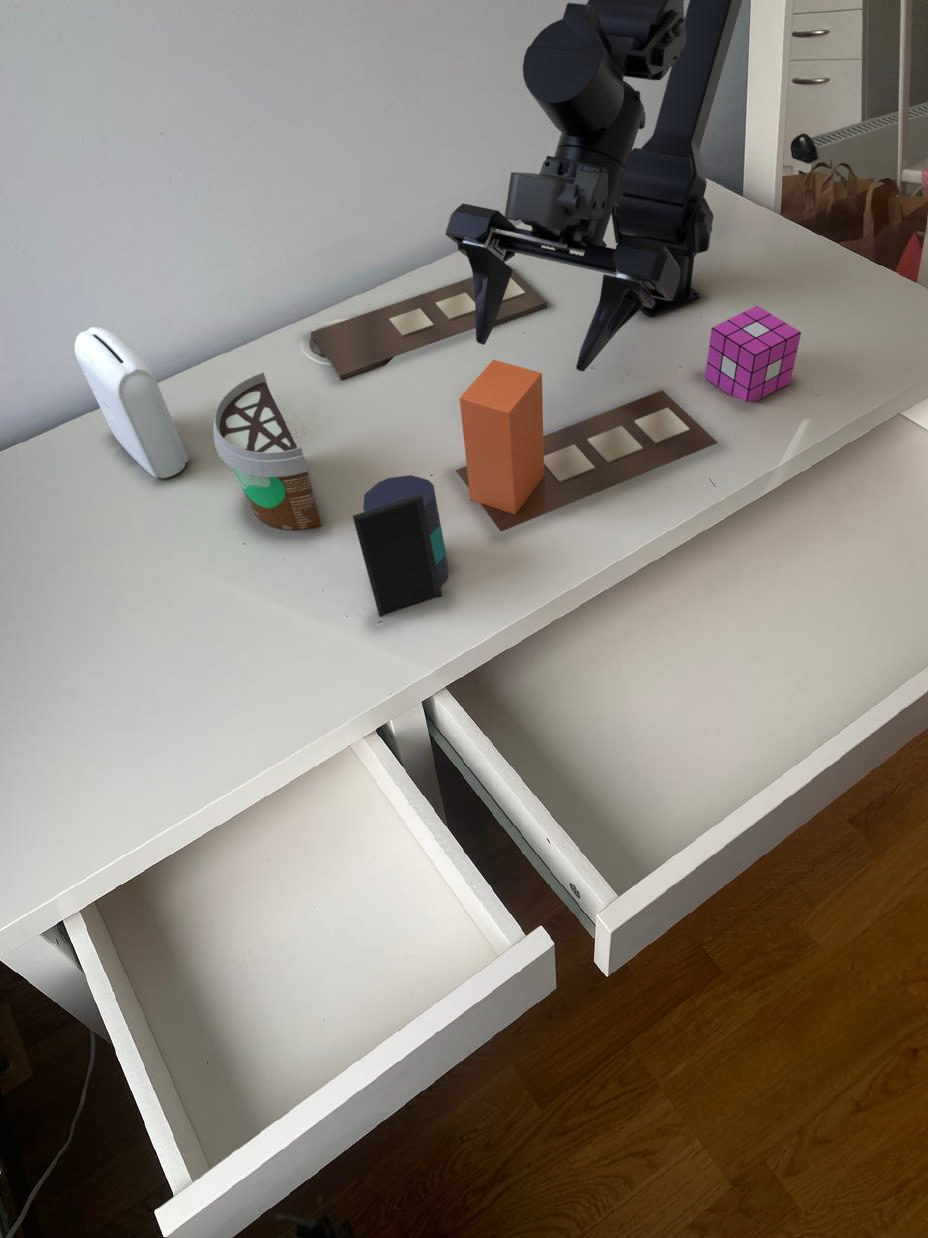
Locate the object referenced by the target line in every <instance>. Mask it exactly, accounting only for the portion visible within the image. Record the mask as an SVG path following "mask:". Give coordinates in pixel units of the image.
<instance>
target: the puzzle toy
mask: <svg viewBox="0 0 928 1238" xmlns="http://www.w3.org/2000/svg"><path fill="white" fill-rule="evenodd" d="M801 336H802V332H801V331H800V330H799V329H797V328H795V327H793V326H792V325H791V324H789V323H787V322H786V321H784V320H782V319H781V318H779V317H777V316H776V315H774V314H772V313H770V312H769V311H767V310H766V309H764V308H762V307H761V306H759V305H755V306H753V307H751V308H749V309H747V310H745V311H743V312H741V313H739V314H737V315H735V316H732V317H730V318H728V319H727V320H724V321H723V322H720V323H718V324H717V325H714V326H712V327H711V331H710V338H709V345H708V354H707V360H706V368H705V375H704V378H705V380H707V381H709V382H710V383H712V384H713V385H715V386H716V387H718V388H719V389H720V390H722V391H723V392H724V393H726V394H727V395H729V396H730V397H732V398H737V399H740V400H742V401H744V402H745V403H748V402H752V403H756V402H757V401H759V400H761V399H763V398H765V397H766V396H768V395H770V394H772V393H774V392H776V391H778V390H779V389H782V388H783V387H785V386H787V385H790V383H791V381H792V377H793V371H794V366H795V363H796V359H797V354H798V348H799V345H800V339H801Z"/></svg>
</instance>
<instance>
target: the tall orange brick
mask: <svg viewBox="0 0 928 1238" xmlns="http://www.w3.org/2000/svg"><path fill="white" fill-rule="evenodd" d="M543 403H544V402H543V373H542V372H540V371H536V370H532V369H529V368H525V367H521V366H519V365H514V364H511V363H507V362H504V361H499V360H497V359H492V360H491V361H490V362H489V364H488V365H487V366H486V367H485V368H484V369H483V370H482V372H481V373H480V374H479V375H478V376H477V377H476V379H475V380H473V382H472V383H471V384H470V385H469V386H468V387H467V388H466V390H465V391H464V392H463V393H462V394H461V396H460V397H459V406H460V416H461V425H462V434H463V446H464V454H465V462H466V466H467V473H468V482H469V488H468V490H469V500H471V501H473V502H477V503H479V504H480V503H482V504H485V505H488V506H491V507H494V508H497V509H500V510H502V511H505V512H508V513H511V514H514V515H515V514H516V513H517V512H518V510H519V509H520V508H521V506H522V505H523V504H524V502H525V501H526V500H527V498H528V497H529V496H530V494H531V493H532V492H533V490H534V489H535V487H536V486H537V485H538V483H539V482H540V481H541V479H542V478H543V477H544V443H543V436H544V409H543V408H544V404H543Z"/></svg>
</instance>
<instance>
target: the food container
mask: <svg viewBox="0 0 928 1238" xmlns="http://www.w3.org/2000/svg"><path fill="white" fill-rule="evenodd" d="M213 440H214V441H213V442H214V447H215V450H216V453H217V454H218V456H219V458H220V459H221V460H222V461H223V462H224V463H225V464H226V465H227V466H229V468H231V469H233V472H234V474H235V476H236V478H237V480H238V482H239V484H240V487H241V489H242V492H243V493H244V495H245V497H246V499H247V502H248V504H249V507H250V509H251V511H252V512H253V514H254V516H255V517H256V518H257V519H258V520H259V521H260V523H263V524H264V525H266V526H268V527H270V528H273V529H276V530H280V531H281V530H282V531H291V532H292V531H293V532H294V531H305V530H311V529H314V528H317V527H321V526H322V522H321V517H320V513H319V511H318V506H317V503H316V499H315V498H316V497H315V495H314V491H313V488H312V487H313V486H312V483H311V479H310V475H309V473H308V472H309V468H308V465H307V461H306V458H305V455H304V452H303V450H302V447H301V446H300V447H298V446H297V444H296V442H295V440H294V438H293V436H292V433H291V432H290V430H289V427H288V425H287V424H286V420H285V419H284V417H283V415H282V413H281V411H280V409H279V407H278V405H277V403H276V401H275V399H274V397H273V396H272V393H271V391H270V389H269V385H268V382H267V378H266V376H265V372H264V371H262V372H260V373H257V374H254V375H251V376H250V377H247V378H246V379H244V380H243V381H241V382H239V383H238V384H236V385H235V386H234V387H232V388H231V389H229V391H228V392H227V393H226V394H225V395H224V396H223V397H222V399H221V400H220V401H219V403H218V405H217V407H216V410H215V414H214V420H213Z"/></svg>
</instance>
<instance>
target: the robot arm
mask: <svg viewBox="0 0 928 1238" xmlns="http://www.w3.org/2000/svg"><path fill="white" fill-rule="evenodd" d="M688 1H689V2H688V6H687V9H686V12H685V6H684V2H685V0H587V2H586V3H576V2H568V3H566V6H565V9H564V13H563V17H562V18H561V19H559V20H556V21H554V22H552V23H550V24H549V25H548V26H546V27H545V28H543V29H542V30H541V31H540V32H539V33H538V35H536V37H535V38H534V39H533V41H532V42H531V44H530V45H529V46H528V47H527V48H526V50H525V54H524V57H523V61H522V62H523V63H522V77H523V81H524V83H525V86H526V88H527V89H528V91H529V93H530V94H531V95H532V97H533V99H534V100H535V101H536V103H537V104H538V105H539V106H540V108H541V109H542V111H543V112H544V114H545V115H546V116H547V118H548V119H549V120H550V121H551V123H552V124H553V126H554V127H555V128H556V129H557V130H558V131H559V132H560V136H559V140H558V142H557V146H556V149H555V152H554V156H551V155H546V158H545V160H544V161H543V162H542V165H541V169H540V172H539V173H535V172H534V173H531V172H516V171H515V172H511V173H510V177H509V184H508V191H507V197H506V205H505V210H504V215H503V213H501V211H499V210H497V209H492V208H487V207H482V206H477V205H473V204H468V203H461V204H459V206H457V208H456V209H455V210H454V211H453V212H452V213H451V214H450V217H449V219H448V224H447V226H446V229H445V236H447V237H448V238H449V239H450V240H452V242H454V243H455V244H456V246H457V251H458V252H460V253H461V254H462V255H464V256H465V257H466V258H467V259H468V263H469V265H470V268H471V272H472V277H473V280H474V288H475V314H476V329H475V341H476V343H477V344H480V345H483V346H485V345H486V343H487V342H488V339H489V337H490V335H491V333H492V331H493V328H494V323H495V320H496V317H497V314H498V312H499V309H500V306H501V303H502V300H503V297H504V294H505V291H506V289H507V286H508V283H509V280H510V277H511V274H512V271H513V270H514V268H512V267H511V266H510V265H509V264H507V263H506V262H508V261H509V260H510V259H512V258H513V257H514V256H515V255H516V254H519V255H524V256H528V257H533V258H538V259H541V260H545V261H551V262H555V263H559V264H564V265H567V266H572V267H577V268H581V269H586V270H591V271H595V272H600V273H603V274H602V275H603V276H602V283H601V290H600V297H599V301H598V304H597V306H596V309H595V312H594V314H593V317H592V319H591V322H590V324H589V326H588V330H587V332H586V335H585V337H584V340H583V341H582V345H581V347H580V350H579V354H578V358H577V363H576V365H575V368H576V370H577V371H579V372H582V373H583V372H585V371H586V370H587V369H588V367H589V366H590V365H591V364H592V363H593V361H594V360H595V359H596V358H597V357H598V356H599V354H600V353H601V352H602V351H603V349H604V348H605V347H606V346H607V344H608V343H609V342H610V341H611V340H612V338H614V336H615V335H616V334H617V333H618V332H619V331H620V329H622V327H624V326H625V325H626V324H627V323H628V322H629V321H630V320H631V319H632V318H633V317H634V316H635V315H637V313H639V311H640V312H641V313H643V314H644V315H645V316H646V317H650V318H651V317H655V316H657V315H660V314H662V313H665V312H668V311H671V310H673V309H677V308H679V307H682V306H684V305H687V304H689V303H692V302H695V301H697V300H699V299H700V292H698V291H697V290H696V289H695V288H694V287H693V286H692V283H693V273H694V265H695V264H694V263H695V257H696V256H697V255H698V254H701V253H705V252H707V251H708V250H709V249H710V241H711V234H712V231H713V221H714V213H713V211H712V210H711V207H710V206H709V204H708V202H707V200H706V198H705V193H706V189H707V182H708V181H707V177H706V174H705V169H704V166H703V161H702V157H701V153H700V151H701V146H702V142H703V139H704V136H705V132H706V128H707V125H708V121H709V118H710V114H711V112H712V108H713V104H714V100H715V97H716V94H717V91H718V87H719V83H720V80H721V76H722V73H723V70H724V65H725V62H726V58H727V55H728V53H729V48H730V46H731V45H730V44H731V41H732V38H733V35H734V31H735V27H736V25H737V20H738V16H739V13H740V9H741V6H742V3H743V0H688ZM668 71H669V75H668V78H667V82H666V86H665V89H664V93H663V97H662V101H661V104H660V108H659V112H658V116H657V119H656V123H655V127H654V130H653V133H652V135H651V137H650V138H649V139H648V140H647V141H646V142H645V143H644V144H643V145H642V147H639V148H638V147H634V144H635V142H636V138H637V136H638V131H639V130H643V129H644V128H645V126H646V111H645V106H644V104H643V102H642V99H641V92H640V91H639V90H635V89H634V87H633V86H632V85H631V84H629V83H628V82H626V80H624V78H632V79H638V80H639V79H641V80H648V81H653V82H654V81H661V80H662V79H663V78H664V77H665V76H666V74H667V73H668ZM610 220H611V221H612V228H613V234H614V240H615V244H616V246H615V247H614V248H613V247H607V246H608V245H607V243H606V242H605V241H604V238H605V235H606V231H607V229H608V226H609V222H610ZM511 221H514V222H519V221H521V223H523V224H524V225H526V226H529V227H531V230H528V229H525V228H520V227H516V226H515V225H514V224H513V223H512V222H511ZM543 246H544V247H543ZM552 248H553V249H552ZM571 251H575V252H579V253H583V254H581V255H580V254H578V253H577V254H576V253H574V252H571ZM508 265H509V266H510V267H511V268H512V269H511V268H510V267H509V266H508Z"/></svg>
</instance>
